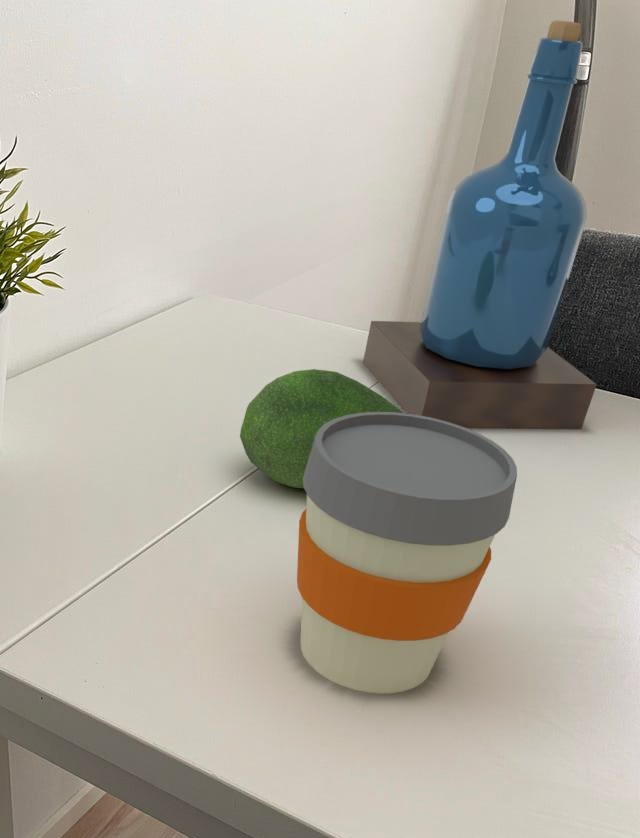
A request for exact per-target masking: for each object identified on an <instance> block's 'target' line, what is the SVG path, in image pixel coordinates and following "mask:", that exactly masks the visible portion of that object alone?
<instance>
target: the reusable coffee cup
mask: <svg viewBox="0 0 640 838" xmlns="http://www.w3.org/2000/svg"><path fill="white" fill-rule="evenodd" d="M517 467H518V466H517V464H516V463H515V460H514V459H513V457H512V456H511V455H510V454H509V453H508V452H507V450H506V449H504V448H503V447H502V446H500V445H499V444H497V443H496V442H495V441H493V440H491V439H490V438H488V437H486V436H484V435H483V434H481V433H479V432H477V431H474V430H472V429H470V428H465V427H462V426H459V425H456V424H453V423H450V422H446V421H442V420H438V419H435V418H431V417H425V416H419V415H414V414H406V413H405V412H403V413H396V412H365V413H356V414H350V415H345V416H342V417H338V418H335V419H333V420H331V421H329V422H327V423H325V424H324V425H323V426H322V427H321V428H320V429H319V430H318V431H317V434H316V436H315V439H314V443H313V446H312V449H311V453H310V456H309V459H308V463H307V466H306V469H305V473H304V476H303V486H304V488H303V489H304V491H305V493H306V507H305V509H304V510H303V511H302V512H301V515H300V518H299V520H298V521H299V522H298V541H297V542H298V544H297V568H296V569H297V572H296V584H297V590H298V591H299V594H300V596H301V598H302V601H301V620H300V651H301V653H302V656H303V658H304V659H305V660H306V662H307V663H308V665H309V666H310V667H311V668H312V669H313V670H314V671H316V673H318V674H320V675H321V676H322V677H324V679H326V680H329V681H331V682H333V683H335V684H336V685H339V686H342V687H345V688H348V689H350V690H354V691H359V692H363V693H370V694H383V695H384V694H396V693H397V694H398V693H403V692H406V691H410V690H412V689H415V688H416V687H418V686H420V685H422V684H423V683H424V682H425V681H426V679H428V677H429V676H430V673H431V672H432V669H433V667H434V665H435V662H436V660H437V659H438V656H439V654H440V652H441V651H442V649H443V646H444V645H445V644H444V643H445V641H446V639H447V637H448V636H449V634H450V632H451V631H453V630H455V629H456V628H457V627H458V626H459V625H460V624H461V623H462V621H463V620H464V617H465V615H466V612H467V610H468V609H469V607H470V604H471V602H472V600H473V599H474V596H475V594H476V592H477V590H478V588H479V585H480V584H481V581H482V579H483V577H484V575H485V573H486V571H487V569H488V567H489V565H490V563H491V561H492V549H491V548H492V547H491V545H492V542H493V540H494V539H495V535H497V534H498V533H499V532H500V531H501V530H502V529H503V528H505V527H506V525H507V523H508V521H509V519H510V515H511V509H512V504H513V499H514V494H515V489H516V483H517V477H518V468H517Z"/></svg>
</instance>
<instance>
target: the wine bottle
mask: <svg viewBox="0 0 640 838" xmlns="http://www.w3.org/2000/svg"><path fill="white" fill-rule="evenodd" d="M581 30H582V24H581V23H579V22H575V21H567V20H552V21H551V22H550V25H549V27H548V32H547V36H546V37H545V36H544V37H541V38H540V39H539V42H538V45H537V48H536V50H535V53H534V56H533V58H532V62H531V65H530V67H529V70H528V71H529V73H527V74H526V75H525V76H526V79H527V84H526V87H525V91H524V94H523V98H522V101H521V104H520V108H519V112H518V114H517V118H516V122H515V125H514V129H513V132H512V136H511V140H510V142H509V146H508V149H507V152H506V154H505V155H504V156H503V157H502V158H501V159H500V160H499V161H498V162H496V163H494V164H492V165H489V166H486V167H484V168H481V169H478V170H476V171H475V172H473V173H471V174H469V175H468V176H466V177H465V178H464V179H462V181H460V182H459V184H457V186H456V187H455V188H454V189H453V191H452V193H451V194H450V196H449V198H448V202H447V206H446V210H445V214H444V218H443V223H442V227H441V231H440V236H439V241H438V245H437V249H436V253H435V258H434V262H433V267H432V270H431V275H430V280H429V284H428V289H427V293H426V296H425V297H426V298H425V302H424V306H423V311H422V315H421V319H420V322H421V323H420V327H419V329H420V335H421V338H422V340H423V342H424V344H425V346H426V348H428V349H430V350H432V351H434V352H435V353H437V354H439V355H441V356H443V357H445V358H447V359H449V360H452V361H456V362H460V363H463V364H467V365H471V366H475V367H483V368H494V369H513V368H521V367H528V366H532V365H533V364H534V363H535V362H536V361H537V360H538V359H539V358H540V357H541V356H542V355H543V354H544V352H545V351H546V350H547V347H548V348H549V343H550V340H551V337H552V333H553V330H554V327H555V323H556V320H557V318H558V314H559V311H560V308H561V305H562V301H563V298H564V295H565V291H566V288H567V285H568V281H569V278H570V275H571V272H572V268H573V265H574V262H575V259H576V255H577V252H578V249H579V246H580V242H581V240H582V239H581V238H582V236H583V232H584V229H585V226H586V222H587V219H588V215H587V205H586V201H585V198H584V196H583V194H582V192H581V191H580V189H578V187H577V186H576V185H575V184H574V183H573V182H572V181H570V180H569V179H568V178H567V177H566V176H564V175H563V174H562V173H561V172H560V170H558V165H557V162H556V157H557V151H558V147H559V144H560V141H561V137H562V136H561V135H562V131H563V127H564V123H565V118H566V115H567V111H568V107H569V103H570V99H571V94H572V90H573V87H574V85H575V84H577V83H578V79H576V78H577V77H578V73H579V68H580V62H581V57H582V51H583V42H582V41H580V40H579V37H580V35H581Z"/></svg>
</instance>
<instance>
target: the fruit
mask: <svg viewBox="0 0 640 838" xmlns="http://www.w3.org/2000/svg"><path fill="white" fill-rule="evenodd" d="M365 412H396V413H404V411H403V410H401V409H399V408H398V407H397V406H396V405H394V404H393V403H392V402H391V401H389V400H388V399H386V398H385V397H383V396H382V395H381V394H380V393H378V392H377V391H374V390H373V389H372V388H369V387H368V386H366V385H364V384H363V383H361V382H359V381H358V380H355V379H354V378H351V377H350V376H346V375H344V374H342V373H339V372H338V371H332V370H325V369H318V368H317V369H316V368H312V369H304V370H303V369H302V370H297V371H296V370H295V371H292V372H290V373H286V374H285V375H282V376H279V377H276V378H275V379H273V380H272V381H271V382H269V383H268V384H266V385H265V386H264V387H263V388H262V389H261V390H260V391H259V392H258V393H257V395H256V396H254V398H253V399H252V400H251V401H250V402H249V403H248V404H247V407H246V410H245V414H244V418H243V421H242V424H241V427H240V433H239V438H240V441H241V444H242V446H243V449H244V451H245V454H246V457H247V458H248V459H249V461H250V463H251V464H252V465H254V467H256V468H257V469H258V470H259V471H260V472H261V473H263V474H264V475H266V476H267V477H268V478H269V479H271V480H272V481H274V482H276V483H279V484H281V485H285V486H287V487H290V488H294V489H295V488H296V489H304V486H303V476H304V473H305V469H306V466H307V463H308V459H309V456H310V453H311V449H312V446H313V443H314V439H315V436H316V434H317V431H318V430H319V429H320V428H321V427H322V426H323V425H324V424H325V423H327V422H329V421H331V420H333V419H335V418H338V417H342V416H345V415H350V414H356V413H365Z"/></svg>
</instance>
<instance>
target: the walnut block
mask: <svg viewBox="0 0 640 838" xmlns="http://www.w3.org/2000/svg"><path fill="white" fill-rule="evenodd" d="M420 323H421V321H395V320H394V321H392V320H391V321H390V320H389V321H388V320H386V321H385V320H371V321H370V325H369V330H368V335H367V340H366V344H365V350H364V354H363V360H362V364H363V365H364V366H365V367H366V369H367V370H368V371H369V372H370V373H371V375H373V377H374V378H375V379H376V380H377V382H378V383H379V384H380V385H381V386H382V388H384V390H385V391H386V392H387V393H388V394H389V395H390V397H391V398H392V399H393V400H394V401H395V402H396V404H397V405H398V406H399V407H400V408H401V409H402V411H403V413H406V414H414V415H419V416H425V417H431V418H435V419H438V420H442V421H446V422H450V423H453V424H456V425H459V426H462V427H465V428H467V429H477V430H479V429H483V430H485V429H486V430H487V429H488V430H489V429H493V430H497V429H498V430H500V429H501V430H503V429H504V430H516V429H517V430H582V428H583V426H584V423H585V420H586V417H587V414H588V411H589V409H590V405H591V403H592V399H593V397H594V395H595V391H596V388H597V385H598V384H597V383H595V381H593V380H592V379H590V377H588V376H586V374H584V373H582V372H581V371H580V370H579V369H578V368H576V367H575V366H573V365H572V364H571V363H569V362H568V361H567V360H565V359H564V358H563V357H562V356H560V355H559V354H558V353H556V352H555V351H554V350H552V348H550V347H549V346H548V347H547V350H546V351H545V352H544V354H543V355H542V356H541V357H540V358H539V359H538V360H537V361H536V362H535V363H534V364H533V365H532V366H528V367H521V368H513V369H494V368H483V367H475V366H471V365H467V364H463V363H460V362H456V361H452V360H449V359H447V358H445V357H443V356H441V355H439V354H437V353H435V352H434V351H432V350H430V349H428V348H426V346H425V344H424V342H423V340H422V338H421V335H420V329H419V327H420Z"/></svg>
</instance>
